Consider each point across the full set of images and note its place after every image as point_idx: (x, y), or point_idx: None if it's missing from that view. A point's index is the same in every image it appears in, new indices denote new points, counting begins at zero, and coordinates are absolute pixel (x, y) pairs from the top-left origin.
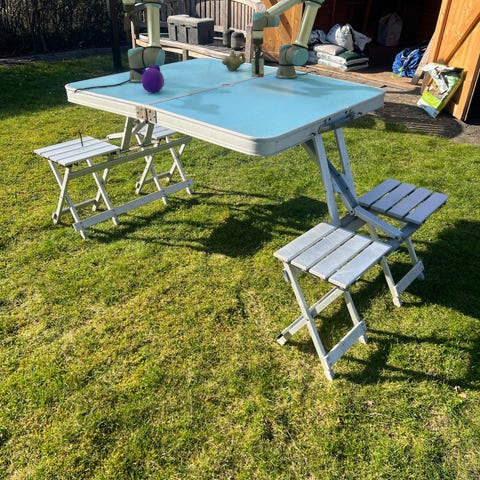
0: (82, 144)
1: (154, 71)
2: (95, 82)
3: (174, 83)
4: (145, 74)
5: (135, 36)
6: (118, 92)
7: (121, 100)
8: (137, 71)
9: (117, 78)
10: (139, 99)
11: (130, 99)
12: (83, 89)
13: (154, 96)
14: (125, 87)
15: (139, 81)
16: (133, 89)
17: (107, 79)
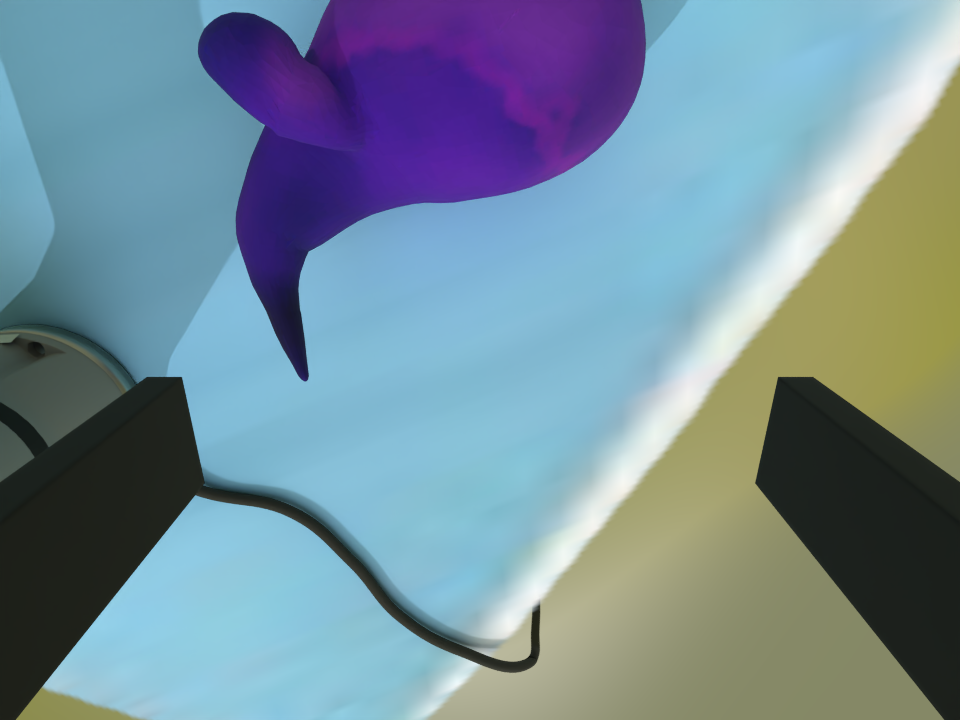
0: None
1: None
2: (218, 672)
3: (19, 9)
4: (608, 98)
5: (161, 531)
6: (506, 401)
7: (786, 264)
8: (303, 333)
9: None
10: (760, 116)
11: (755, 201)
12: (463, 646)
13: (642, 7)
14: (323, 420)
15: (123, 380)
16: (382, 328)
17: (98, 644)
